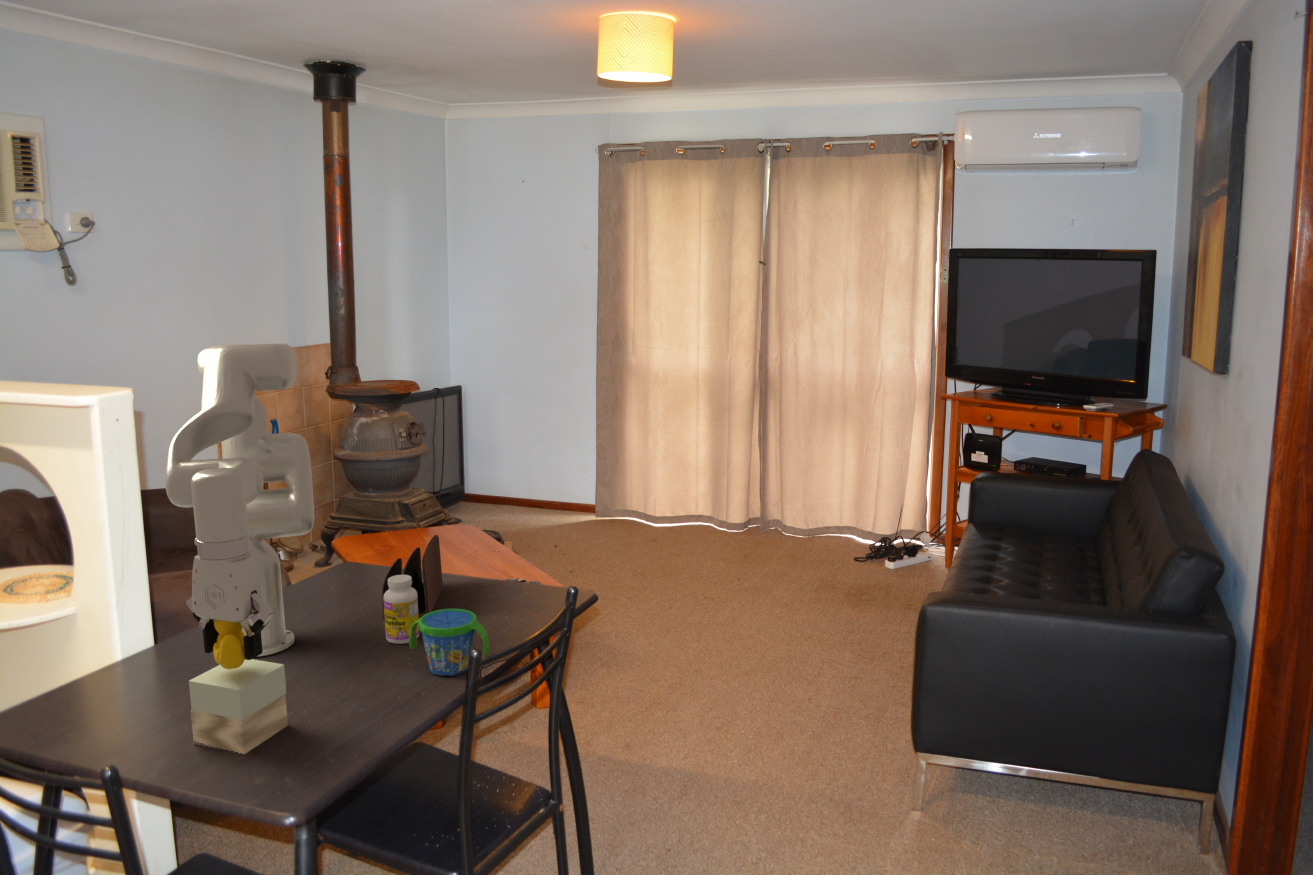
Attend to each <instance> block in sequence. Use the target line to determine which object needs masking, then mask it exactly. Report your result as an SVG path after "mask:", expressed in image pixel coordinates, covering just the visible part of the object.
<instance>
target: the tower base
mask: <svg viewBox="0 0 1313 875" xmlns="http://www.w3.org/2000/svg"><path fill="white" fill-rule="evenodd" d="M287 711H288V710H287V699H286V694H284V695H282V696H281V697H279V698H277V699H276V700H274V701H272V702H271V703H269V704H268V705H266V706H264V707H263V708H261V709H259V710H258V711H256V712H254V713H253V714H251V715H249V716H248V717H246V718H244V719H243V720H239V719H234V718H228V717H223V716H218V715H213V714H208V713H203V712H198V711H193V710H192V709H190V719H191V720H190V721H191V730H192V740H193V742H194V741H195V742H199V743H203V744H205V745H210V746H213V747H218V748H222V749H225V750H230V751H234V752H233V753H235V752H238V753H237V754H240V753H241V754H240V755H245V754H247V753H249V752H250V751H251V750H252V751H253V749H254V748H257V747H258V746H259V745H261V744H262V743H265V741H267V740H268V739H270V738H271V737H273V736H274V735H276V734H278V733H279V732H281V731H282V730H284V729H285V728H286V727H288V726H289V724H288V723H289V722H288V712H287ZM225 750H224V751H225ZM230 751H229V752H230Z"/></svg>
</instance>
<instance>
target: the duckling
mask: <svg viewBox="0 0 1313 875" xmlns="http://www.w3.org/2000/svg"><path fill="white" fill-rule="evenodd" d="M214 626H215V629H216V630H217V632H218V633H219V635H218V637H217V642H216V643H215V644H214V646H213V652H212V653H213V657H214V661H215V663H216V664H218V665H221V666H222V667H223V668H225V669H235V668H238V667H240V666H241V665H242V664H243V662H244V660H246V658H245V650H244V640H243V638H244V636H245V634H244V632H243V631H242V628H243V627H242V625H241V623H233V622H225V621H219V620H214Z"/></svg>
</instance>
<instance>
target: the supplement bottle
mask: <svg viewBox="0 0 1313 875" xmlns="http://www.w3.org/2000/svg"><path fill="white" fill-rule="evenodd" d="M411 584H412V578H411V576H409V575H395V576H392V577H390V578H388V587H389V590H387V591H386V592H385V594H384V615H385V619H384V630H385V631H384V633H385V639H386V641H387V642H388V643H391V644H395V645H397V644H398V645H405V644H409V633H410V629H411V626H412V625H413V623H414V622H416V621H417V620H418V619H420V618H419V617H418V596H417V591H416V590H415V589H414V588H412V587H411ZM416 636H417V639H419V637H420V627H419V624H417V627H416Z"/></svg>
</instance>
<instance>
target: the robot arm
mask: <svg viewBox="0 0 1313 875" xmlns="http://www.w3.org/2000/svg"><path fill="white" fill-rule="evenodd" d="M196 361H197V368H198V372H199V373H198V374H200V378H201V380H202V390H201V393H202V394H201V404H200V406H201V407H200V408H201V409H200V411H199V412H198V413H197V414H195V415H194V416H192V417H191V418H190V419H189V420H188V421H187V422H185V423H184V425H183V426H182V427H180V429H178V431H177V432H176V434H175V435H174V436H173V438H172V439H171V442H170V444H169V448H168V450H167V458H166V469H165V476H164V477H165V481H164V482H165V492H166V495H167V498H168V499H169V501H170V503H171V504H172V505H174V506H176V507H178V508H193V518H194V519H193V520H194V527H195V528H194V530H195V538H194V541H193V542H194V545H195V546H196V548H197V549H196V550H197V554H196V555H195V556H194V559H193V563H192V564H193V565H192V573H191V574H192V577H191V587H192V588H191V594H192V595H191V596H190V598H188V599H187V600H186V603H185V604H186V605H187V607H188V608H189V610H190V612H192V616H193V618H194V619H195V620H196V621H197V622H198V628H199V629H200V630H202V637H203V647H204V648H203V649H204V653H205V654H211V653H213V646H214V644H215V643H216V642H217V637H218V635H219V633H218V632H217V630H216V629H215V626H214V620H219V621H225V622H233V623H241V625H242V627H243V628H242V631H243V632H244V634H245V636H244V638H243V640H244V650H245V658H246V660H251V659H255V658H259V657H264V656H269V655H274V654H278V653H279V652H282V651H284V650H286V649H288V648H289V647H291V646H292V645H293V644H295V643H294V642H295V634H294V633H293V631H291V630H290V629H289V630H288V629H286V620H285V608H284V595H283V584H282V583H283V582H282V571H281V561H280V557H279V555H278V553H277V552H276V550H275V548H273V547H272V546H271V545H270V543H268V542H267V541H266V540H269V539H278V538H287V537H297V536H299V537H300V536H303V535H307V534H308V533H310V532H311V531H312V530H313V528H314V525H315V518H316V517H315V500H314V489H313V488H314V486H313V472H312V464H311V463H312V462H311V453H310V448H309V444H308V442H307V440H306V438H305V437H304V436H303V435H301V434H298V433H294V432H283V433H282V432H281V433H270V432H269V429H268V428H269V427H268V414H267V409H266V407H265V405H264V404H263V402H262V401H261V399H259V397H257V395H256V392H265V391H267V392H268V391H285V390H288V389H290V388H291V387H292V386H293V384H294V383H295V381H296V378H297V373H298V362H297V357H296V353H295V351H294V349H293V348H292V347H291V346H290V345H289V344H288V343H254V344H253V343H251V344H244V343H243V344H242V343H241V344H239V343H238V344H221V345H215V346H210V347H206V348H204V349H202V350H201V351H200V352H199V353H198V355H197V360H196ZM219 443H221V457H222V458H215V459H214V458H211V459H210V458H209V459H208V458H207V459H196V460H195V459H193V458H194V457H195V456H197V455H198V454H200V453H201V452H202V451H204V450H205V449H209V448H210V447H212V446H215V445H217V444H219ZM192 459H193V460H192ZM278 482H279V483H280V482H281V483H286V485H287V486H288V488H276V489H275V488H274V489H273V488H272V489H263V488H264V483H278Z"/></svg>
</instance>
